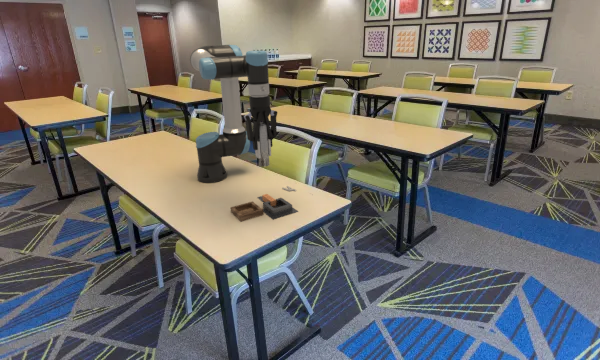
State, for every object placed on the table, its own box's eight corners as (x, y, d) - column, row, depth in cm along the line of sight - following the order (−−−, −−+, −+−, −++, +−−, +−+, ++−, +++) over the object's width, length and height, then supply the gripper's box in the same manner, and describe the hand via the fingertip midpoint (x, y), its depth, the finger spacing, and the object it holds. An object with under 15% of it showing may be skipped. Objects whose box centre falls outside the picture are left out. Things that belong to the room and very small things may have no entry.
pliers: (296, 199, 155) (276, 189, 166) (296, 202, 156) (276, 192, 167) (313, 192, 161) (292, 183, 172) (313, 196, 162) (292, 187, 173)
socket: (248, 201, 158) (247, 194, 157) (272, 194, 164) (271, 188, 163) (273, 221, 140) (272, 214, 139) (298, 212, 146) (298, 206, 145)
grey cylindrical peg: (257, 164, 141) (254, 123, 135) (266, 162, 143) (263, 121, 137) (262, 167, 138) (259, 125, 131) (271, 165, 140) (268, 123, 134)
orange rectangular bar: (262, 200, 157) (262, 195, 156) (267, 198, 158) (267, 193, 157) (271, 206, 150) (270, 201, 149) (276, 205, 151) (275, 199, 151)
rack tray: (231, 213, 147) (230, 207, 146) (253, 207, 152) (252, 201, 151) (241, 223, 139) (240, 216, 138) (263, 216, 144) (263, 209, 143)
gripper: (242, 99, 123) (248, 163, 132) (284, 94, 132) (287, 154, 140) (233, 96, 129) (239, 158, 138) (274, 91, 137) (277, 149, 146)
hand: (263, 156), depth 139 cm, fingers closed on grey cylindrical peg, 4 cm apart
